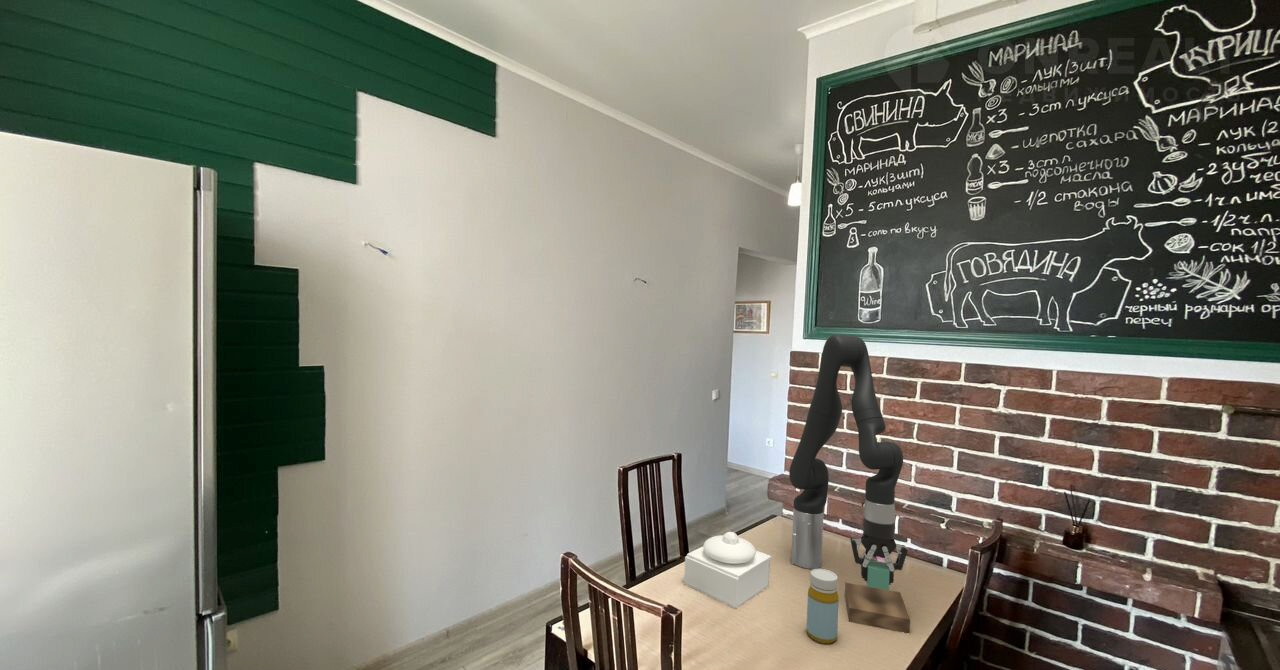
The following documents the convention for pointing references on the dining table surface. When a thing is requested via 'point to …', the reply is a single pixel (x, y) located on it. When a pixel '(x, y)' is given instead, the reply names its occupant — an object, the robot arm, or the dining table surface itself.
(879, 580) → the green cube
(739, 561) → the butter dish
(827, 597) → the bottle
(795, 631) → the dining table surface
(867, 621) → the walnut base
